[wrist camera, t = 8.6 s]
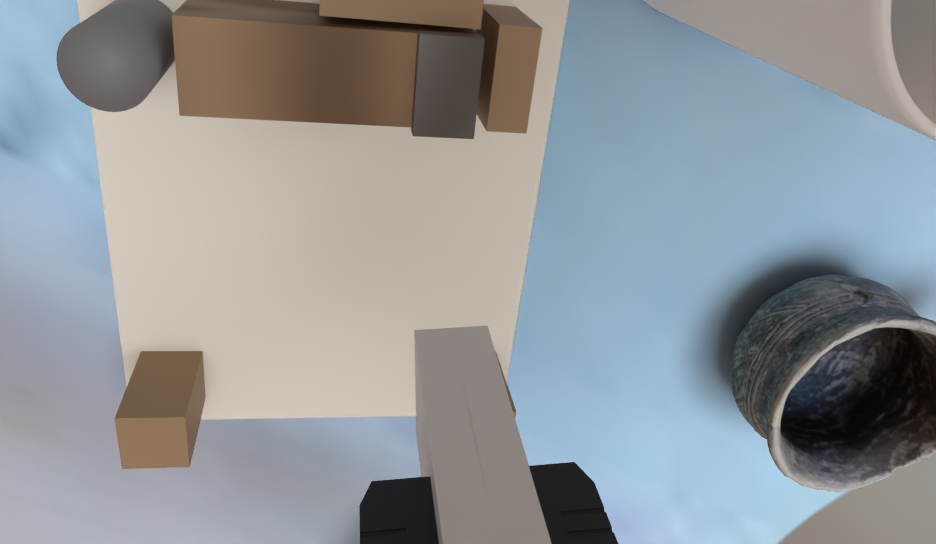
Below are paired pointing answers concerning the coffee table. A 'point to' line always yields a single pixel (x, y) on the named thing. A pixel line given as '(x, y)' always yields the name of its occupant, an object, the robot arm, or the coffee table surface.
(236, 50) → the brown rectangular block
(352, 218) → the seat board
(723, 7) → the cup
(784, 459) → the teapot
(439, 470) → the robot arm
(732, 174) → the coffee table surface
